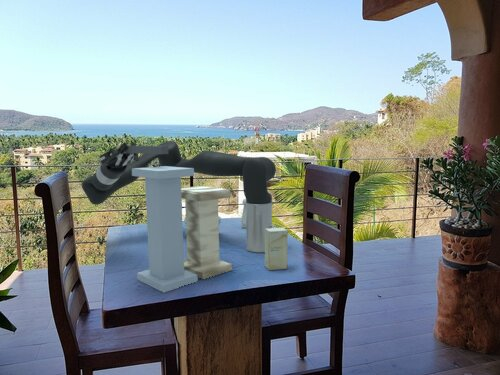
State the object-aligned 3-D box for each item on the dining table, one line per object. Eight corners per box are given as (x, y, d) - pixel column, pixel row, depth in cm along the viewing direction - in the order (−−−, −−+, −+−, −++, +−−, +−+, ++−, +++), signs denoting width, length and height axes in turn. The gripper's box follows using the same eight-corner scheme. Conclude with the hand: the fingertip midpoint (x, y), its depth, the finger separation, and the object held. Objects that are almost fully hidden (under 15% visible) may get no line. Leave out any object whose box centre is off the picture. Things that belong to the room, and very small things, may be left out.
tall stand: (137, 279, 112) (131, 168, 108) (170, 270, 119) (166, 166, 115) (163, 292, 102) (158, 171, 98) (197, 281, 109) (193, 168, 105)
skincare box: (268, 270, 118) (268, 231, 116) (264, 266, 122) (263, 228, 120) (288, 268, 119) (288, 230, 118) (283, 264, 124) (283, 226, 122)
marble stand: (175, 268, 121) (172, 188, 118) (204, 260, 128) (201, 185, 125) (203, 279, 111) (200, 193, 108) (232, 270, 118) (230, 189, 115)
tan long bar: (118, 152, 125) (117, 145, 125) (124, 152, 127) (124, 145, 126) (161, 154, 107) (161, 146, 107) (168, 153, 108) (168, 145, 108)
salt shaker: (252, 229, 172) (252, 200, 170) (240, 228, 173) (239, 199, 171) (255, 226, 178) (254, 198, 176) (242, 225, 179) (242, 197, 177)
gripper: (87, 161, 129) (105, 134, 117) (126, 159, 139) (147, 134, 127) (93, 181, 127) (112, 156, 115) (132, 178, 137) (154, 154, 125)
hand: (130, 144), depth 121 cm, fingers closed on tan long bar, 2 cm apart
